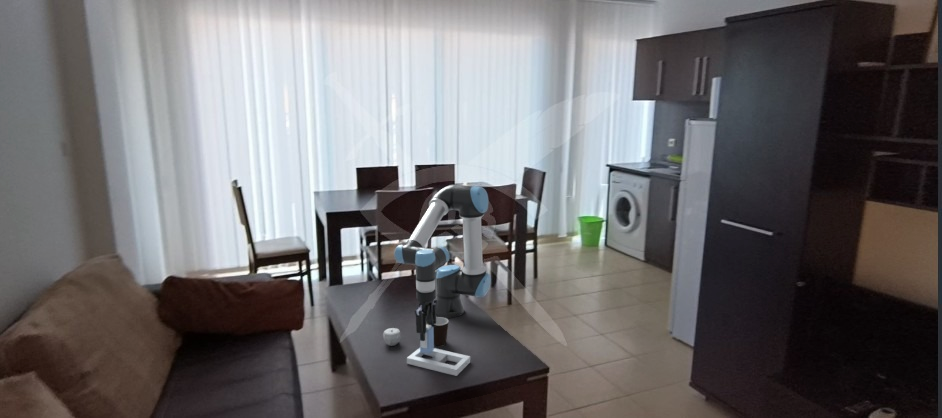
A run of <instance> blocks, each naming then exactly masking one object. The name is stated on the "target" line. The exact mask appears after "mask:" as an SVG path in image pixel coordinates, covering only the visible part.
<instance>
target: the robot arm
mask: <svg viewBox="0 0 942 418" xmlns="http://www.w3.org/2000/svg"><path fill="white" fill-rule="evenodd" d="M488 209H489V195H488V192H487V190H486V189H485V188H484V187H482V186H478V185H461V184H449V185H447V186H445V187H443V188H442V189H439V191H437V192H436V193H435V194H433V196H432V197H431V199H430V200H429V202H428V208H427V210H426V211H425V212H424V214H423V216H422V217H421V219H420V220H419V222H418V224H417V225H416V226H415V228H414V230H413V232H412V233H411V235H410V236H409V238H408V240H407V241H406V242H405V244H398V245H397V246H396V247H395V249H394V252H393V253H394V254H393V255H394V259H395V262H397V263H400V264H404V265H414V266H415V287H416V288H415V289H416V292H415V295H416V296H415V297H416V300H417V301H418V309H415V310H414V314H415V325H416V326H415V329H416V330H415V331H416V333H417V334H419V347H420V346H421V347H422V348H427V332H426V324H428V325H431V326H433V327H435V326H436V325H434V324H436V317H443V318H446V319H448V318H456V317H459V316H462V314H464V313H465V312H464V310H465V306H464V304H463V301H462V299H461V295H463V296H470V297H474V298H484V297H485V296H486V295H487V293H488V291H489V289H490V286H491V280H492V278H491V277H492V276H491V274H490V273H488V272H487V267H485V266H484V264H483V263H484V262H483V240H482V239H483V236H482V235H483V233H482V217H484V216H485V213H486V212H487V211H488ZM452 210H454V211H458V215H459V216H458V217H460V218H461V219H462V234H463V236H462V237H463V238H462V239H463V256H464V257H463V260H464V266H463V267H462V268H461V266H460V265H458V264H448V265H446V264H447V263H448V262H449V261H450V252H449V250H448V249H447V248H446V247H443V246H438V247H435V248H431V247H426V245H427V244H428V242H429V241H430V239H431V237H432V235H433V234H434V232H435V230H436V228H437V227H438V225H439V223H441V220H442V218H443V217H444V216H446V215H447V214H448V212H449V211H452Z"/></svg>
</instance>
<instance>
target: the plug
mask: <svg viewBox="0 0 942 418" xmlns="http://www.w3.org/2000/svg"><path fill="white" fill-rule="evenodd" d="M426 332H427V348H422V347H421V346H420V345H419V348H420V352H422V353H426V354H430V353H431V352H432V351H433V350H434V348H435V346H434V327H433V326H431V325H428V324H426Z"/></svg>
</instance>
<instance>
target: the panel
mask: <svg viewBox="0 0 942 418" xmlns="http://www.w3.org/2000/svg"><path fill="white" fill-rule="evenodd" d="M422 356H429V357H430V359H428V358H424V357H422ZM431 357H432V358H431ZM447 361H449V362H454V363H456V364H455V365H454V364H450V363H449V364H448V363H446V362H447ZM470 363H471V355H467V354H461V353H458V352H452V351H448V350H444V349H441V348H440V349H439V348H437V347H434V350H433V351H432V352H431V353H430V354H426V353H422V352H420V347H419V348H417V349H416V350H415V351H414V352H412V353H411V354H410V355H409V356H407V357H406V364H407V365H411V366H415V367H419V368H423V369H426V370H432V371H435V372H439V373H442V374H447V375H451V376H456V377H457V376H458V375H459V374H460V373H462V371H463V370H464V369H465V368H466V367H467V366H468V365H469V364H470Z"/></svg>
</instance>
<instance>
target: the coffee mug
mask: <svg viewBox="0 0 942 418" xmlns="http://www.w3.org/2000/svg"><path fill="white" fill-rule="evenodd" d="M434 325H436V326H435V327H434V347H443V346H445V345H446V344H447V336H448V330H449V319H448V318H446V317H439V316H436V324H434Z"/></svg>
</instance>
